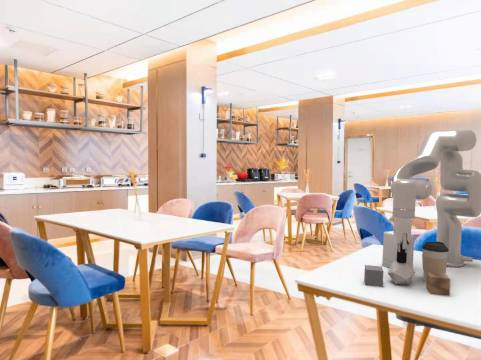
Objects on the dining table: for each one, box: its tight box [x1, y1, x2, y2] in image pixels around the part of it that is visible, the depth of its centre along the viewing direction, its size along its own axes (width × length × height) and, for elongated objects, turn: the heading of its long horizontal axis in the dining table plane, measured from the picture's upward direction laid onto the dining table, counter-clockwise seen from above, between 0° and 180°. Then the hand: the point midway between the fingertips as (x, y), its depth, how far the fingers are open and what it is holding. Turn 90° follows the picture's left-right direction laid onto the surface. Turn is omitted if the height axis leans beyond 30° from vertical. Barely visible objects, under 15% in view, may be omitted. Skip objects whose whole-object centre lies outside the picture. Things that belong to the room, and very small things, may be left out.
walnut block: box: [425, 272, 451, 297], centre depth 126 cm, size 6×6×6 cm
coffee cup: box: [421, 241, 449, 283], centre depth 136 cm, size 9×9×15 cm
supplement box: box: [381, 230, 415, 269], centre depth 155 cm, size 9×9×15 cm
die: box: [387, 262, 416, 285], centre depth 134 cm, size 8×9×10 cm
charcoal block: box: [363, 264, 384, 288], centre depth 133 cm, size 6×6×6 cm
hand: (401, 262), depth 134 cm, fingers closed
